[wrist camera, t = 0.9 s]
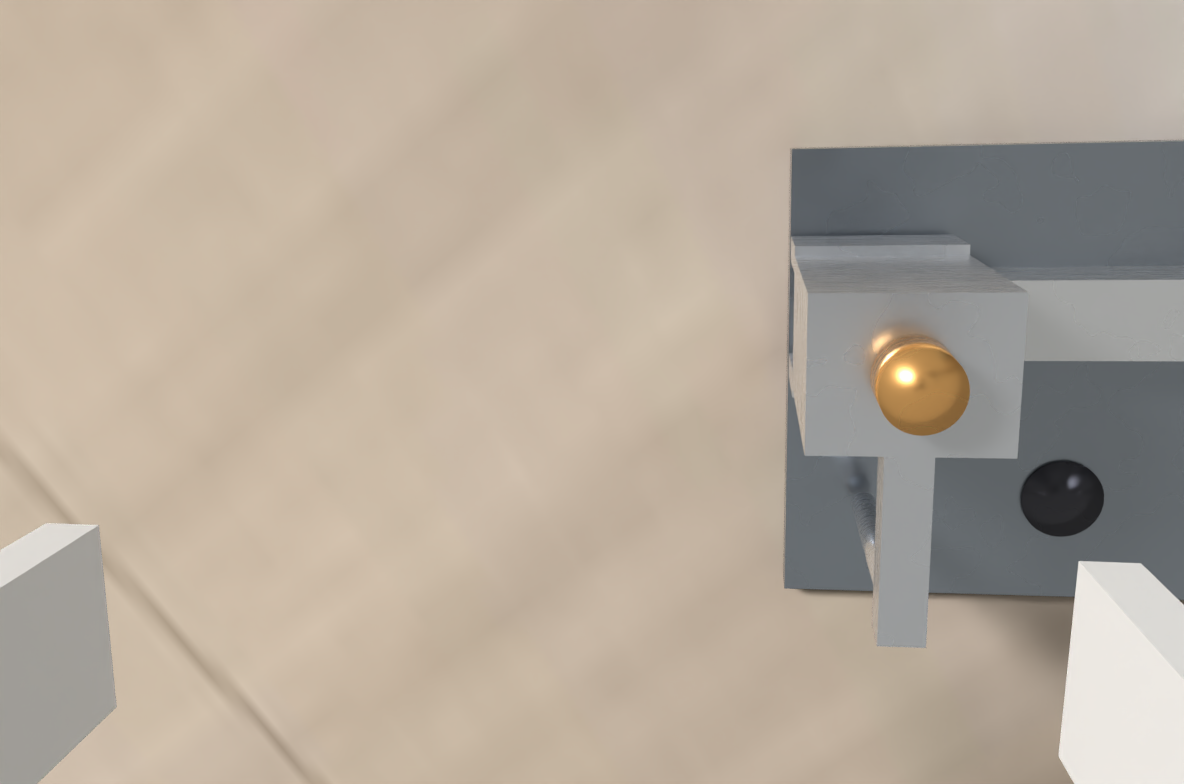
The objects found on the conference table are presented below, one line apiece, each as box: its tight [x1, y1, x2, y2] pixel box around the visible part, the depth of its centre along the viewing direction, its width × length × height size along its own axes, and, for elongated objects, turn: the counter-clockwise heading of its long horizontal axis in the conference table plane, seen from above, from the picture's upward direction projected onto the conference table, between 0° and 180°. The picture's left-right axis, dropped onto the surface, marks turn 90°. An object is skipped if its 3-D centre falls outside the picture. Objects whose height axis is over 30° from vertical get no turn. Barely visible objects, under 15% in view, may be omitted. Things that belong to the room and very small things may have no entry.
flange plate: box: [783, 140, 1184, 600], centre depth 35 cm, size 22×15×4 cm
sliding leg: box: [789, 234, 1029, 648], centre depth 31 cm, size 5×9×11 cm, turn 2°
